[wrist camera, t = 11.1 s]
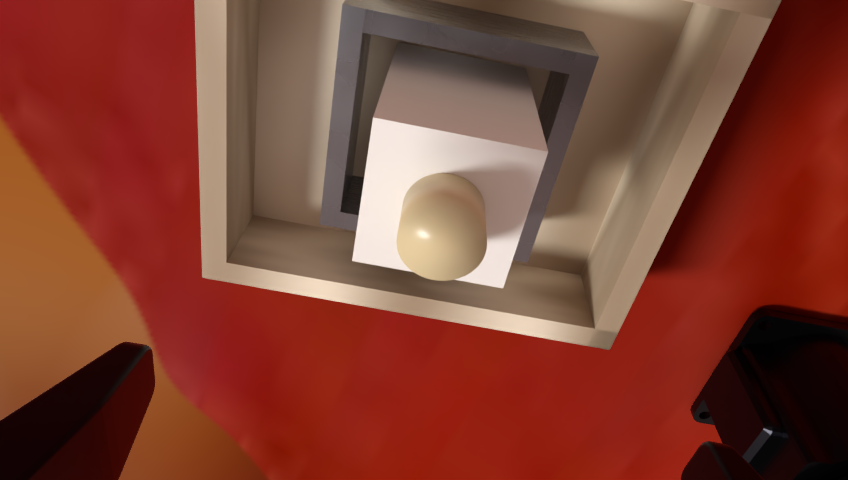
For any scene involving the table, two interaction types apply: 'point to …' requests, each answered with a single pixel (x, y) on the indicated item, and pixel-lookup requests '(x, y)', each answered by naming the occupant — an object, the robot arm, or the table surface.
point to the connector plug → (449, 167)
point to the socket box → (560, 120)
